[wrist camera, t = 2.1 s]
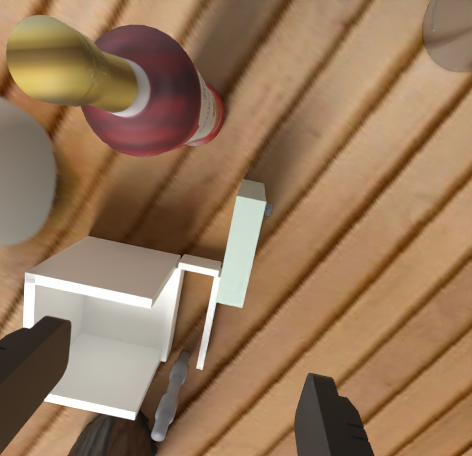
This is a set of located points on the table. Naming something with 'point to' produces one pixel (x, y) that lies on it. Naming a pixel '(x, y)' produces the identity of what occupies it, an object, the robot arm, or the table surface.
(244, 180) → the door
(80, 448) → the owl
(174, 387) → the cabinet
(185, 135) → the liquor
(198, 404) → the table surface
